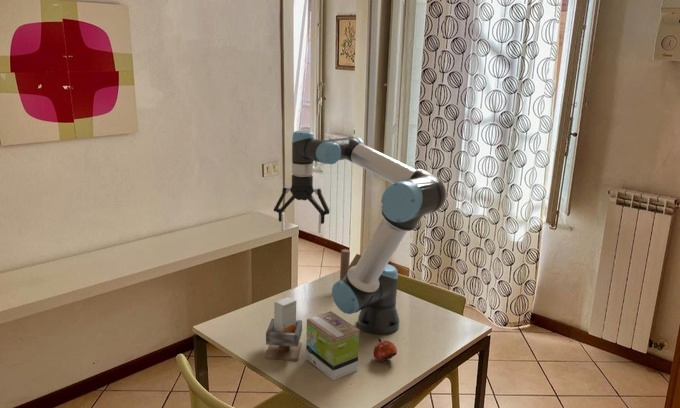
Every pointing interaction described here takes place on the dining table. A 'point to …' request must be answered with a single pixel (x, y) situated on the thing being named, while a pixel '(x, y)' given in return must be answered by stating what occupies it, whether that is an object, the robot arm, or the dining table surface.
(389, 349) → the red rounded piece
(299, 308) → the dining table surface
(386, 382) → the dining table surface
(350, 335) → the tea box
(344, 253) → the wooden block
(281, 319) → the skincare box
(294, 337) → the cup stand
